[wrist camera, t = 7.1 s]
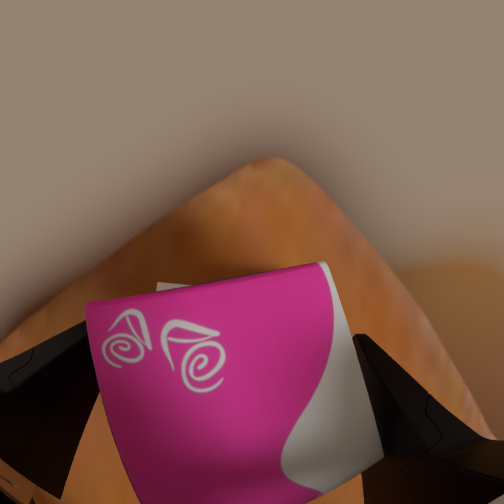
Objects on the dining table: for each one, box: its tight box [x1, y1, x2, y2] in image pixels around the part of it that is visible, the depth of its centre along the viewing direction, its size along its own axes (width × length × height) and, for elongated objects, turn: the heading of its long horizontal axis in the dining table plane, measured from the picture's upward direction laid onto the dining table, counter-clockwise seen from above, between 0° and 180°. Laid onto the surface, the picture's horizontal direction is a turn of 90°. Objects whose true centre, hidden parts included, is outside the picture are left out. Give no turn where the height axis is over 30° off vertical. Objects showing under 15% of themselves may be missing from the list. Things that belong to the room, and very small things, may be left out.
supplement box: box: [84, 261, 384, 504], centre depth 10 cm, size 6×6×12 cm
